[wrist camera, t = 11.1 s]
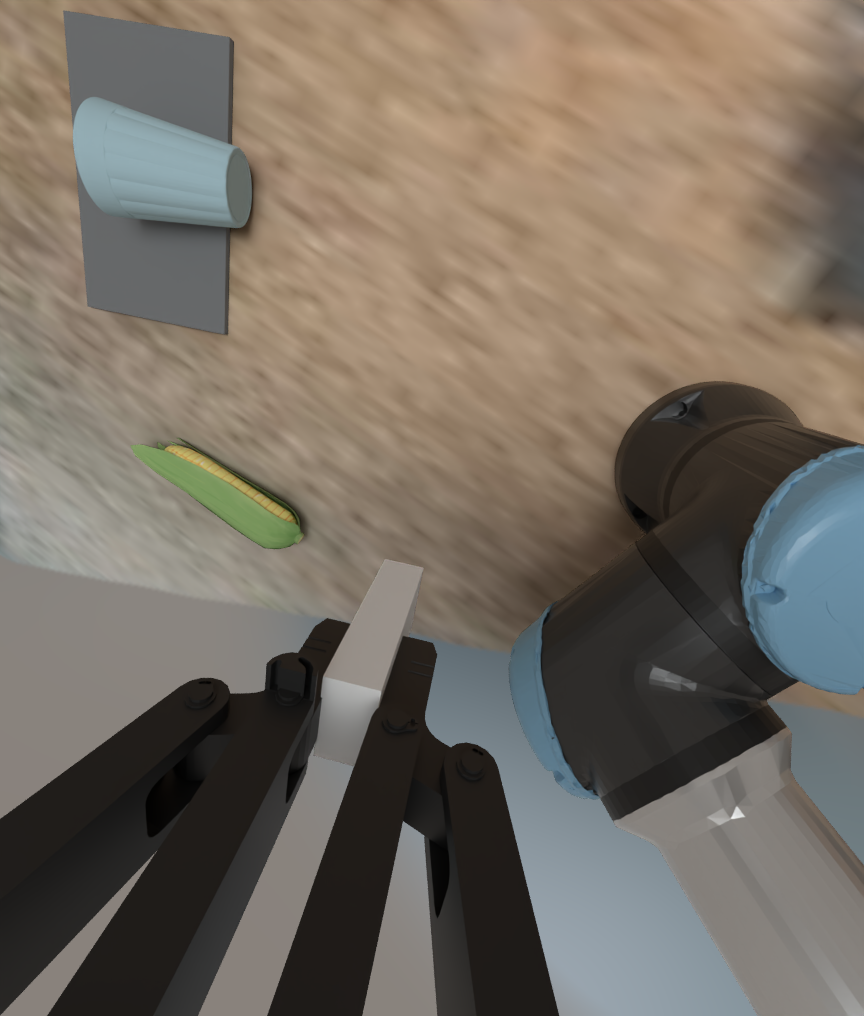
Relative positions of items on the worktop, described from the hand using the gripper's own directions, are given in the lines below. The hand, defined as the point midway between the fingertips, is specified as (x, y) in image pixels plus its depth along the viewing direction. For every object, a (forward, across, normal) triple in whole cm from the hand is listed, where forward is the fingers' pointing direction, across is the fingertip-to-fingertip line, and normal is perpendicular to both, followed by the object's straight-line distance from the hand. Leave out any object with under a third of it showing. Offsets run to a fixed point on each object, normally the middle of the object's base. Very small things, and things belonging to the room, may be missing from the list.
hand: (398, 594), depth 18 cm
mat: (+29, +31, -16) cm, 46 cm away
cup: (+26, +21, -17) cm, 38 cm away
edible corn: (+30, +24, +10) cm, 39 cm away
